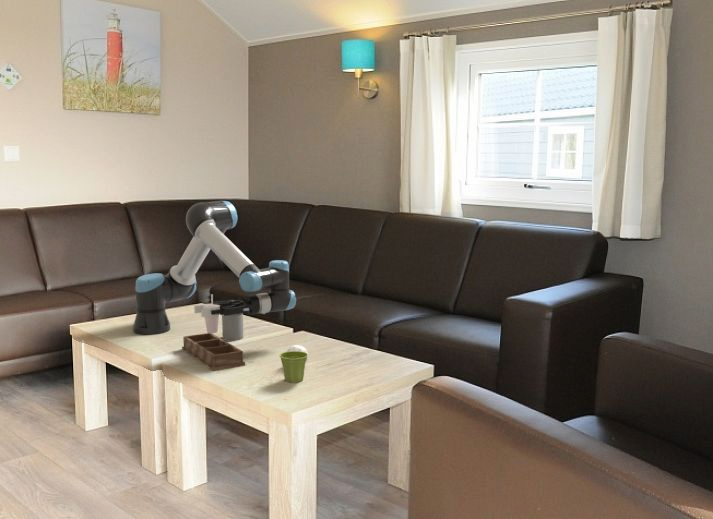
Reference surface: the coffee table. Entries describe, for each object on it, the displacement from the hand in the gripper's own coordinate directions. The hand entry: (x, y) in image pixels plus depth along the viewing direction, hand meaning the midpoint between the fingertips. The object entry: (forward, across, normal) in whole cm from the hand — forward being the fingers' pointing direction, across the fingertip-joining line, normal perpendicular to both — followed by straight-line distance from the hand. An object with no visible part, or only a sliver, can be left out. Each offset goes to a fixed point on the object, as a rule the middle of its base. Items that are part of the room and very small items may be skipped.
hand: (198, 311), depth 264 cm
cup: (-22, +21, -18) cm, 35 cm away
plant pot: (-18, -40, -18) cm, 47 cm away
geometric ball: (-26, -27, -18) cm, 41 cm away
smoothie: (-5, 0, -9) cm, 10 cm away
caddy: (-5, 0, -18) cm, 18 cm away
